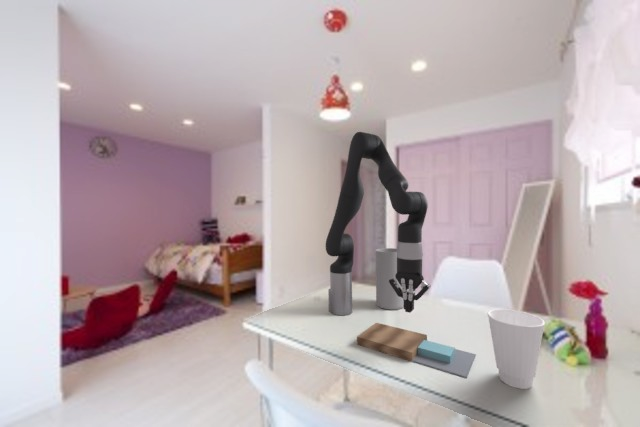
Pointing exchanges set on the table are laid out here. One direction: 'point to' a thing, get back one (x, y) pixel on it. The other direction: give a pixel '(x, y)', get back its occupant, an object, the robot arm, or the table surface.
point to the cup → (516, 345)
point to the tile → (436, 351)
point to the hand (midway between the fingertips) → (408, 311)
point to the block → (392, 340)
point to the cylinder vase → (387, 279)
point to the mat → (457, 366)
